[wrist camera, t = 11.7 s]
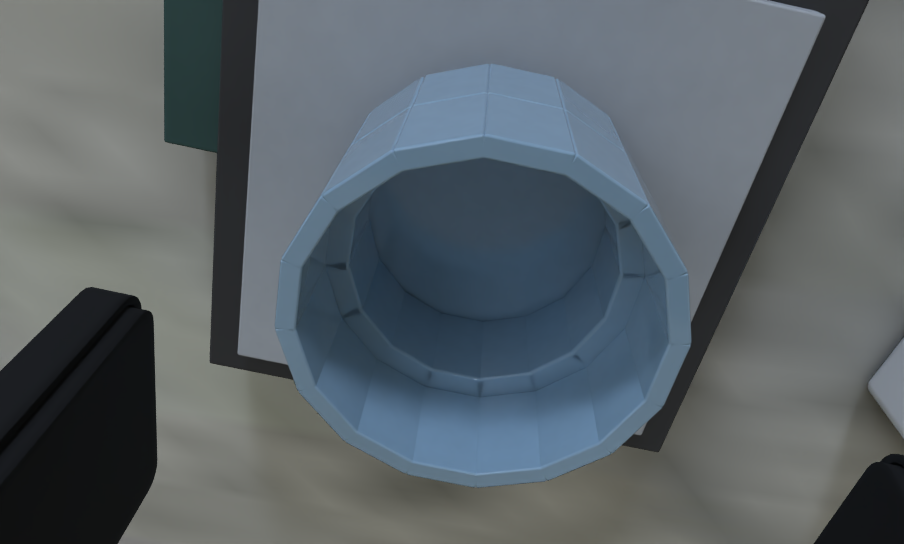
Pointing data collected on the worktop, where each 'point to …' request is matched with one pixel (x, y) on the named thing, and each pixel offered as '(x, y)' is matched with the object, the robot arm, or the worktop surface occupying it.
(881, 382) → the jar
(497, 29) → the scale
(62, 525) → the robot arm
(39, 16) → the worktop surface
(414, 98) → the bowl
